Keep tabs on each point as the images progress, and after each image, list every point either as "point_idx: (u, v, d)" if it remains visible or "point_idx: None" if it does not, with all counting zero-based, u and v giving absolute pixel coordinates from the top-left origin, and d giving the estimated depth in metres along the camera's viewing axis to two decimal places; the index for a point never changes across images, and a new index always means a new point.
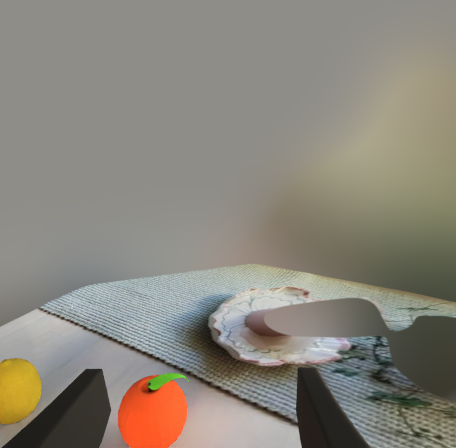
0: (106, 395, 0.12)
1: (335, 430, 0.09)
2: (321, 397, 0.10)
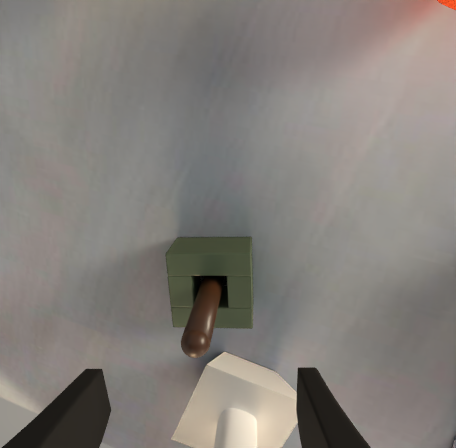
0: (106, 395, 0.12)
1: (335, 430, 0.09)
2: (321, 397, 0.10)
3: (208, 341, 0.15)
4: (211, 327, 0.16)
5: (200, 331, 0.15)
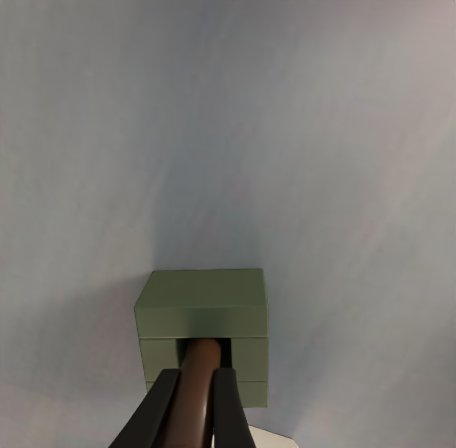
0: None
1: (226, 430, 0.09)
2: (226, 397, 0.10)
3: None
4: (210, 430, 0.09)
5: (192, 446, 0.08)
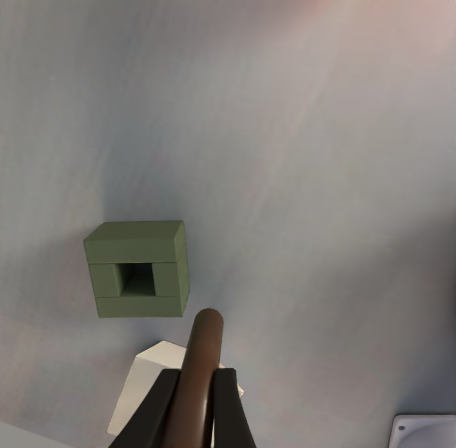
0: None
1: (227, 430, 0.09)
2: (226, 397, 0.10)
3: None
4: (210, 430, 0.09)
5: (191, 446, 0.08)
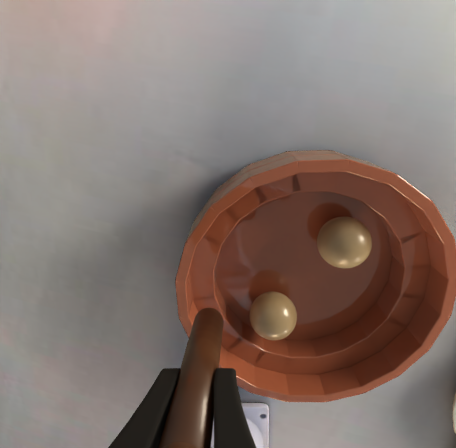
0: None
1: (227, 430, 0.09)
2: (226, 397, 0.10)
3: None
4: (209, 429, 0.09)
5: (190, 445, 0.08)
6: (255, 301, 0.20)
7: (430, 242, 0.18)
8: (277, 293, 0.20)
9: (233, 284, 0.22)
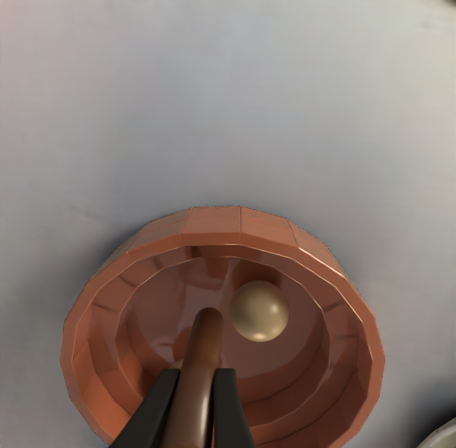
0: None
1: (226, 430, 0.09)
2: (226, 397, 0.10)
3: None
4: (210, 428, 0.09)
5: (192, 444, 0.08)
6: None
7: (354, 313, 0.15)
8: None
9: (148, 348, 0.19)
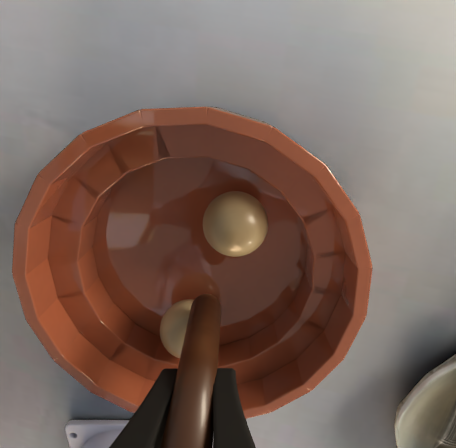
0: None
1: (226, 430, 0.09)
2: (225, 397, 0.10)
3: None
4: (200, 429, 0.09)
5: None
6: (172, 334, 0.16)
7: (339, 222, 0.14)
8: (190, 307, 0.16)
9: (119, 279, 0.18)
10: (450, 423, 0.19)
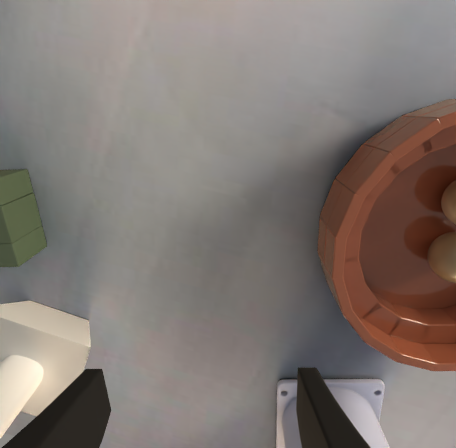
0: (106, 395, 0.12)
1: (335, 430, 0.09)
2: (321, 397, 0.10)
3: None
4: None
5: None
6: None
7: None
8: None
9: (366, 248, 0.20)
10: None
